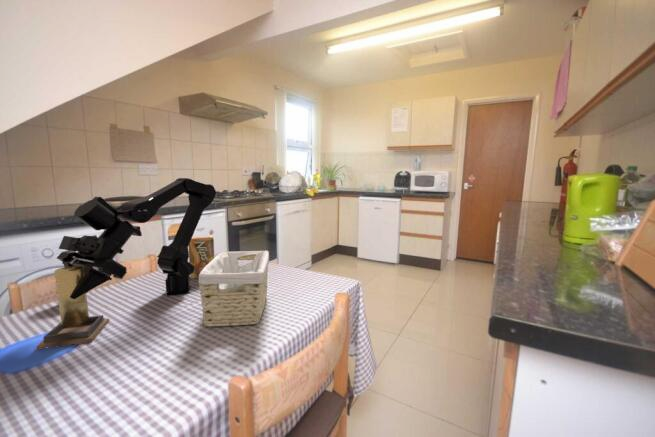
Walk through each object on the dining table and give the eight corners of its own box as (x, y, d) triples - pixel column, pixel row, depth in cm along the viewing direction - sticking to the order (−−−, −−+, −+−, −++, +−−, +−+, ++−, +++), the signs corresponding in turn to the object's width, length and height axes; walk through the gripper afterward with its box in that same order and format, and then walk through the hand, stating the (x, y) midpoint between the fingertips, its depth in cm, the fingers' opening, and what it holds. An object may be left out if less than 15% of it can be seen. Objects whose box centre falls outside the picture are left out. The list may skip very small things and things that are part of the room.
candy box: (214, 272, 114) (212, 235, 112) (215, 276, 110) (213, 237, 108) (190, 275, 110) (188, 237, 108) (190, 279, 106) (188, 239, 104)
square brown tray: (109, 321, 74) (108, 313, 74) (92, 341, 65) (91, 332, 65) (62, 327, 71) (61, 318, 71) (36, 349, 62) (35, 339, 62)
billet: (94, 316, 70) (88, 265, 68) (75, 326, 65) (69, 272, 63) (75, 315, 70) (69, 265, 68) (55, 325, 65) (48, 272, 64)
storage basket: (221, 293, 94) (220, 250, 92) (271, 291, 96) (270, 249, 94) (198, 331, 71) (195, 274, 68) (264, 328, 73) (263, 273, 70)
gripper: (62, 219, 72) (6, 274, 63) (108, 225, 65) (53, 288, 56) (99, 243, 80) (55, 295, 71) (144, 250, 73) (101, 308, 64)
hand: (65, 296), depth 66 cm, fingers closed on billet, 5 cm apart
